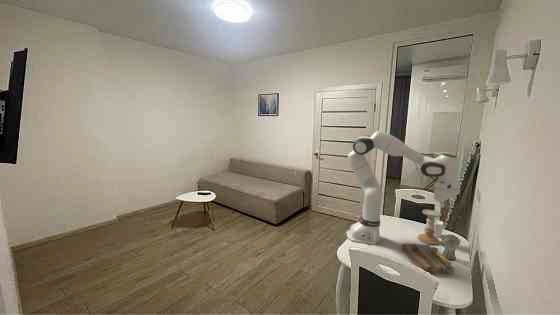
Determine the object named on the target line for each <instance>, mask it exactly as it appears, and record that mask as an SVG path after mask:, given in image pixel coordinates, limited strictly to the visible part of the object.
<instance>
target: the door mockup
mask: <svg viewBox="0 0 560 315" xmlns="http://www.w3.org/2000/svg"><path fill="white" fill-rule="evenodd" d="M432 247H433V246H432V245H430V244H421V243H420V244H419V243H402V247H401V250H402V251H403V253H404V254H405V255H406V256H407V257H408V259H409V260H410V261H411V262H412V263H413V265H414V266H415V265H416V266H417V267H419V268H421V269H423V270H424V271H426V272H429V273H430V274H429V275H442V276H443V275H445V276H454V274H455V267H453V265H451V266H450V267H445V266H444V265H443V264H442V263H441V262H440V261H439V260H438V259H437V258H436V257H435V256H434V255H433V254H432V253H431V252H432ZM416 266H415V267H416ZM417 267H416V268H417Z"/></svg>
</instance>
